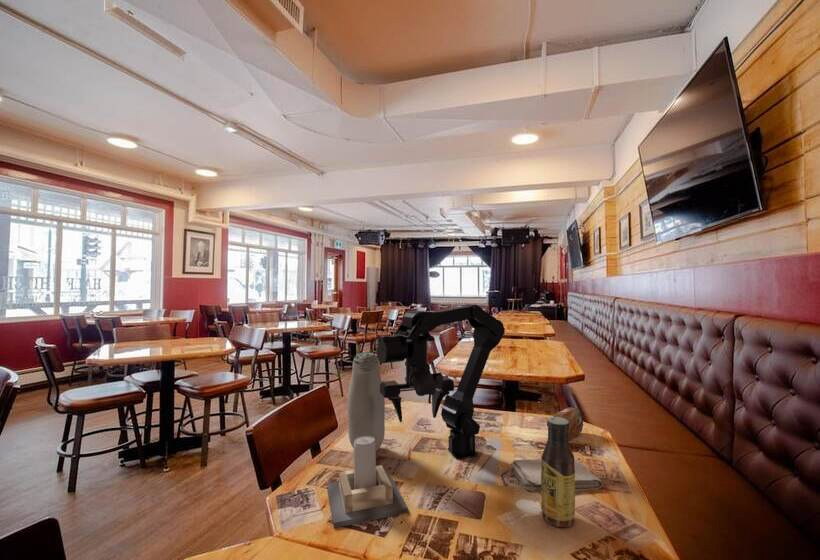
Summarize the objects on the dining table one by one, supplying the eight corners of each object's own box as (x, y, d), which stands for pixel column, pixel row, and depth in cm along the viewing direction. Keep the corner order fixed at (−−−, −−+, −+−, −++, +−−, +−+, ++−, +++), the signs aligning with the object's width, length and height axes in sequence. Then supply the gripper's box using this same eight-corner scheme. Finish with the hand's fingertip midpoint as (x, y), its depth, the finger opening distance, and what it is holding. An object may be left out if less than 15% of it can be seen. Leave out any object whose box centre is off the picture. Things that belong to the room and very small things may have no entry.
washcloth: (509, 469, 95) (508, 457, 95) (576, 466, 97) (576, 453, 97) (526, 495, 83) (526, 481, 83) (604, 491, 85) (603, 477, 85)
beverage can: (363, 504, 79) (363, 446, 79) (349, 495, 82) (348, 440, 82) (380, 494, 82) (380, 439, 82) (366, 486, 85) (365, 433, 86)
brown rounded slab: (558, 447, 107) (558, 417, 107) (548, 443, 109) (548, 414, 109) (584, 433, 116) (583, 406, 116) (574, 430, 119) (574, 403, 119)
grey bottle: (342, 450, 107) (341, 352, 107) (373, 441, 113) (371, 348, 113) (360, 463, 99) (358, 357, 99) (391, 452, 105) (390, 352, 105)
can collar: (389, 477, 91) (389, 458, 91) (407, 512, 77) (407, 490, 77) (326, 488, 87) (326, 468, 87) (333, 528, 72) (333, 504, 73)
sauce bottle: (536, 511, 77) (534, 414, 77) (565, 509, 77) (563, 412, 78) (550, 532, 70) (548, 426, 71) (582, 529, 71) (580, 424, 71)
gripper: (389, 368, 87) (390, 436, 86) (463, 362, 92) (464, 426, 92) (379, 359, 97) (379, 420, 97) (445, 354, 103) (446, 411, 103)
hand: (417, 419), depth 97 cm, fingers open, 9 cm apart
